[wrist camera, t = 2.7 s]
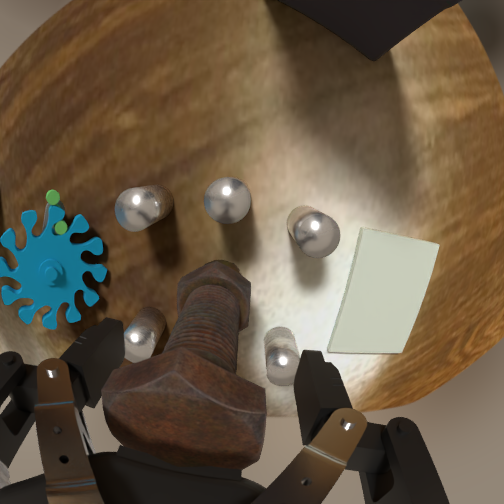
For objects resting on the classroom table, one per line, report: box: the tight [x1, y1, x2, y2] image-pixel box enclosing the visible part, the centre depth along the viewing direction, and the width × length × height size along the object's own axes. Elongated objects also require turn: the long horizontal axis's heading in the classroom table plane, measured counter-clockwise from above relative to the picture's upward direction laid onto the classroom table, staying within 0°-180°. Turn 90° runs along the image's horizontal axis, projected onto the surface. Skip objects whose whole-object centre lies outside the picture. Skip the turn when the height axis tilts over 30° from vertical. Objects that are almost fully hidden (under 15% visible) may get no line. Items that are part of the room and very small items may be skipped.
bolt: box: [101, 260, 267, 470], centre depth 14 cm, size 6×5×15 cm
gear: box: [0, 190, 107, 330], centre depth 18 cm, size 11×6×10 cm
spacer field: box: [115, 177, 340, 386], centre depth 19 cm, size 14×15×4 cm
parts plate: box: [327, 227, 439, 353], centre depth 22 cm, size 8×11×1 cm
